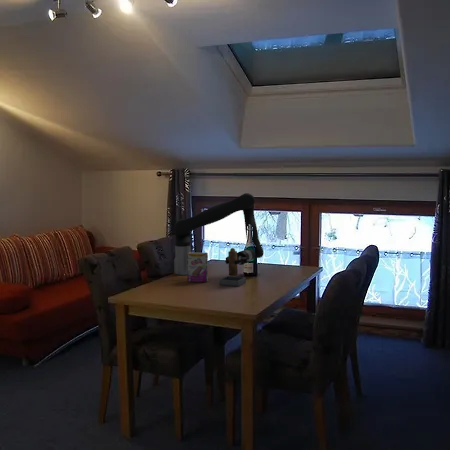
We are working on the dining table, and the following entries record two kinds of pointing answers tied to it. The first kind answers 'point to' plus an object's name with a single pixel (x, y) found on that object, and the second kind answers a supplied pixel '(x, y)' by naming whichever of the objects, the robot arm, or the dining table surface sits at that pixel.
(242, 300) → the dining table surface
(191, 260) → the candy bar box
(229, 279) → the tray
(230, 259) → the pepper mill
